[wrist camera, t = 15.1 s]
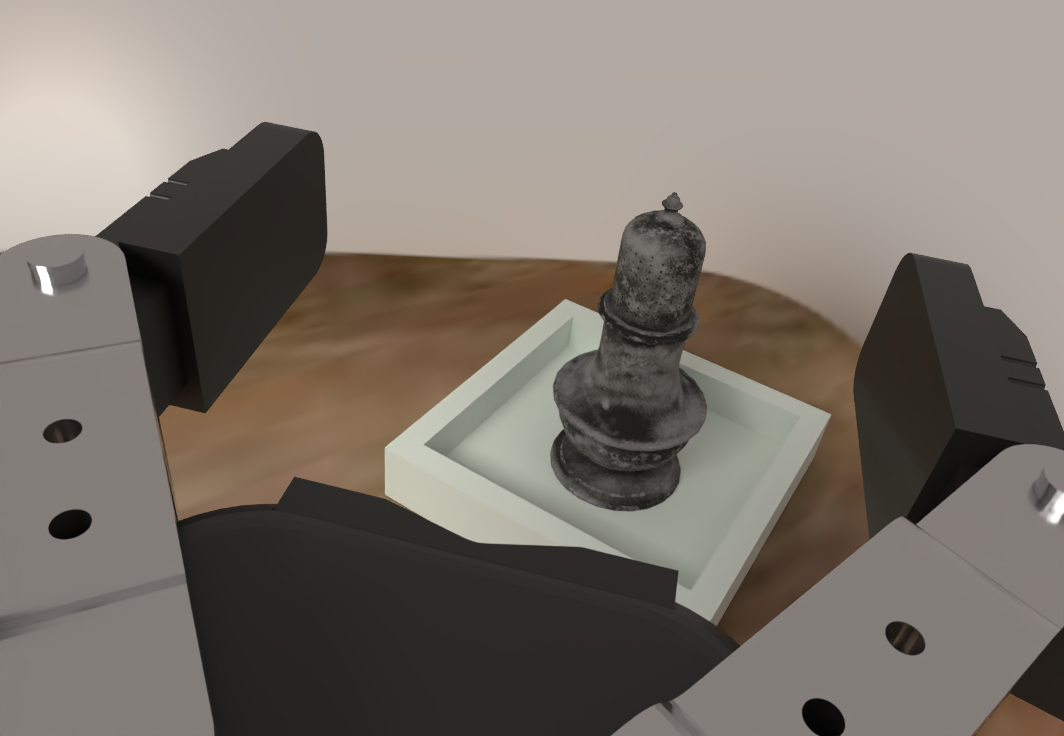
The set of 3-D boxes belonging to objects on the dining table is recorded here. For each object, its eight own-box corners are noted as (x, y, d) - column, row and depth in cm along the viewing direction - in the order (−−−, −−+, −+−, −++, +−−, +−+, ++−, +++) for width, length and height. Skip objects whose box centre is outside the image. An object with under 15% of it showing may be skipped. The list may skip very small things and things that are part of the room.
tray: (384, 494, 34) (384, 447, 32) (559, 341, 43) (565, 299, 41) (689, 672, 29) (706, 626, 27) (813, 457, 38) (831, 414, 37)
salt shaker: (641, 402, 39) (701, 146, 31) (715, 495, 34) (804, 226, 27) (519, 430, 36) (553, 161, 29) (583, 534, 32) (641, 250, 25)
